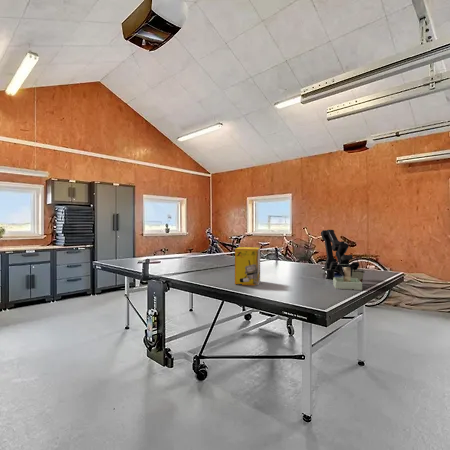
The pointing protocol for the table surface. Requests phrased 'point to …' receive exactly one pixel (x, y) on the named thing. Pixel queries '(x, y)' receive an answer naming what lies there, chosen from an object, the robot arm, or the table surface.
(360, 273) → the food container
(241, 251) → the packaging box
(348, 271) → the maple peg
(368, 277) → the table surface
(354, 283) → the open box
